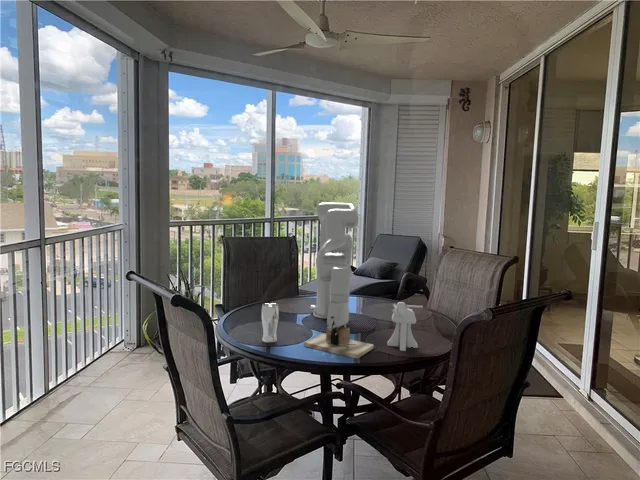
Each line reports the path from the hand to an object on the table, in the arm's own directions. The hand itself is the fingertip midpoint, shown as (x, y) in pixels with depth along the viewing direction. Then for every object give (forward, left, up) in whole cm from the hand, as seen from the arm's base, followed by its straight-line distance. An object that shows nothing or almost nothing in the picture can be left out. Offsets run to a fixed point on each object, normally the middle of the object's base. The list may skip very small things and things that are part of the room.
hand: (338, 341), depth 176 cm
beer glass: (-27, -10, -2) cm, 29 cm away
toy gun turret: (+21, +17, -2) cm, 27 cm away
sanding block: (0, 0, 0) cm, 0 cm away
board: (0, 0, -2) cm, 2 cm away
